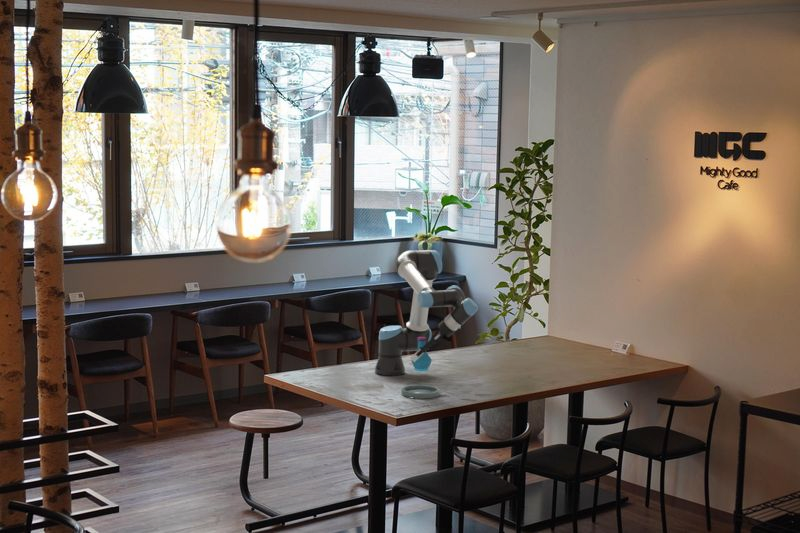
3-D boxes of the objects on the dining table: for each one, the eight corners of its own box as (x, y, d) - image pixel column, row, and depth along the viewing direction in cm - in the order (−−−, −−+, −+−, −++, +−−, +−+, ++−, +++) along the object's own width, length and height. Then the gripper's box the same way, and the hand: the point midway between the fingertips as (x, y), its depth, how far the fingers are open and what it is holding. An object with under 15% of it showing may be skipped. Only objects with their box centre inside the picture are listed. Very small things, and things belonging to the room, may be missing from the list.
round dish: (398, 397, 469) (398, 392, 468) (406, 388, 486) (406, 383, 485) (435, 399, 465) (435, 394, 465) (442, 391, 482) (442, 386, 482)
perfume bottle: (424, 372, 467) (425, 340, 466) (407, 370, 472) (408, 337, 470) (435, 369, 475) (435, 337, 473) (417, 366, 480) (418, 334, 478)
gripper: (451, 335, 458) (415, 368, 463) (459, 327, 479) (424, 359, 484) (439, 323, 458) (403, 356, 464) (447, 315, 479) (413, 347, 484)
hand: (414, 358), depth 474 cm, fingers closed on perfume bottle, 9 cm apart
